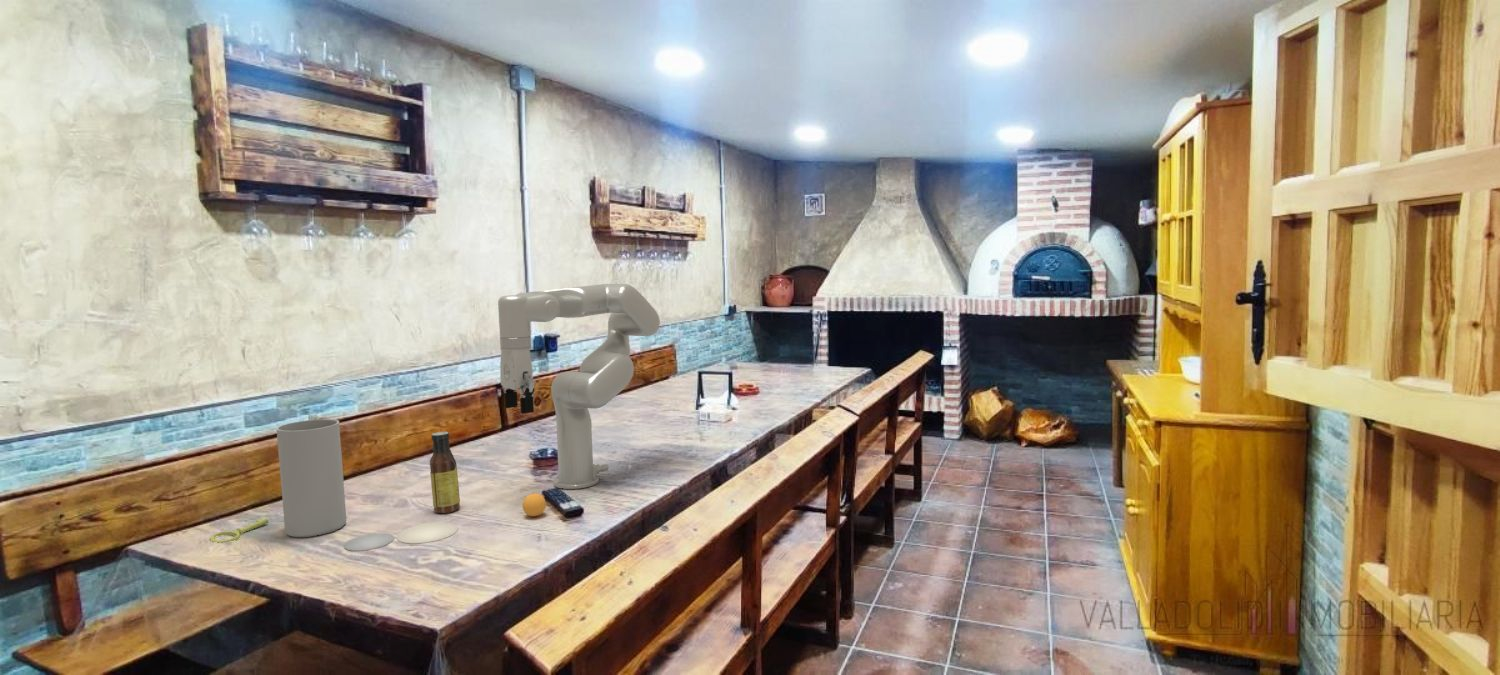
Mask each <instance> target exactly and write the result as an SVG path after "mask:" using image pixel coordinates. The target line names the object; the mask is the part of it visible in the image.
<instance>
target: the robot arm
mask: <svg viewBox="0 0 1500 675" xmlns="http://www.w3.org/2000/svg"><path fill="white" fill-rule="evenodd" d="M497 305H498V306H497V308H498V324H499V342H500V343H499V344H500V370H499V373H500V385H501V386H502V387H503V392H504V393H503V394H504V408H505V409H511V408H517V407H518V406H519V405H518V392H519V394H520V396H521V397H519V399H520V400H519V401H520V403H519V404H520V413H521V414H530V413H533V412H534V411H535V409H534V407H535V406H534V392H535V380H534V376H533V375H534V374H533V373H534V372H533V365H532V364H533V363H532V356H531V350H532V336H531V335H532V333H531V322H533V323H535V322H536V323H537V322H538V323H547V322H548V323H549V322H551V321H553V320H555V319H556V318H564V319H565V318H566V319H569V318H571V319H574V318H584V317H588V316H589V317H590V316H594V315H595V316H597V315H598V316H599V315H602V314H610V315H609V316H608V321H607V337H606V340H605V341H603V343H602V344H601V345H600V346H598V347H597V348H596V349H595V350H593V351H592V352H591V353H589V355H587V356H586V357H585V358H584V359H583V360H582V362H581V364H580V366H579V371H571V370H570V371H564V372H560V373H558V375H556V376H555V377H554V379H553V380H552V382H551V387H550V392H551V398H552V402H553V407H554V410H555V417H556V418H555V419H556V444H557V464H558V465H557V466H558V468H557V469H558V476H557V477H556V478H553V481H552V482H553V486H554V487H555V488H558V489H562V488H563V490H564V489H565V490H579V489H583V488H589V487H592V486H595V485H597V484H598V483H599V482H600V476H599V475H598V474H600V473H601V472H608V471H609V468H610V467H609V465H608V463H605V464H599V463H597V464H594V455H593V453H594V452H593V433H592V432H593V430H592V428H593V426H592V424H593V422H592V416H591V413H590V411H589V409H600V408H603V407H605V406H607V404H609V402H611V401H612V400H613V399H614V398H615V397H617V395H619V394H620V393H621V392H622V391H623V390H624V389H625V388H626V387H627V386H628V385H629V384H630V383H631V380H632V379H633V377H634V371H635V367H634V366H635V365H634V362H633V361H632V360H633V359H631V357H630V356H631V346H630V337H631V336H632V337H650V336H653V335H655V334H656V333H657V332H658V331H659V328H660V325H661V321H660V317H659V313H658V312H657V311H656V308H654V307H653V306H652V305H651V303H650V302H649V301H648V300H647V299H646V298H645V297H644V296H643V295H642V293H641V292H640V291H639V290H637V289H636V288H635V287H634V286H632V285H630V284H628V283H606V284H605V283H604V284H603V283H602V284H592V285H584V286H583V285H582V286H574V287H565V288H558V289H548V290H547V289H546V290H539V291H538V290H537V291H528V292H527V291H526V292H519V293H517V294H514V295H512V294H511V295H502V296H500V297H499V298H498V301H497ZM517 390H519V391H517Z"/></svg>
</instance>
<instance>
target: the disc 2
mask: <svg viewBox="0 0 1500 675" xmlns="http://www.w3.org/2000/svg"><path fill="white" fill-rule="evenodd" d="M458 530H459V527H458V525H457V524H456V523H452V522H446V521H445V522H444V521H443V522H442V521H437V522H434V521H433V522H425V523H421V524H417V525H413V526H411V527H407V528H405V529H403V530H401V531H400V532H398V534H397V535H396V540H397V541H399V542H401V543H403V544H412V545H414V544H415V545H417V544H426V543H427V544H428V543H433V542H434V543H435V542H437V541H441V540H443V539H444V540H445V539H447V538H450V537H451V536H453V535H455V534H456V533H457V532H458Z"/></svg>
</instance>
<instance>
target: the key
mask: <svg viewBox="0 0 1500 675" xmlns="http://www.w3.org/2000/svg"><path fill="white" fill-rule="evenodd" d="M268 523H269V519H268V518H267V517H266V518H260V519H257V520H256V521H255V522H254V523H252V524H251V523H250V524H249V525H247V526H244V527H242V528H241V527H238V528H237V529H236V530H225V531H219V532H216V533H214V534H212V535H211V536H210V537H209V541H210V542H211V541H212V542H211V543H214V542H217V543H216V544H224V543H223V542H229V541H234V540H236V541H238V540H237V539H239V538H240V537H241V535H244V534H245V533H247V532H246V531H248V532H250V531H252V530H255V529H257V528H259V527H262V526H264V525H265V524H268ZM254 528H255V529H254ZM249 530H250V531H249ZM244 532H245V533H244ZM240 534H241V535H240ZM220 535H233V536H232V537H231V538H227V539H224V540H218V539H216V538H217V537H216V536H219V537H221V536H220ZM215 537H216V538H215ZM240 539H241V538H240ZM240 539H239V540H240ZM220 542H221V543H220ZM234 542H235V541H234ZM229 543H230V542H229Z"/></svg>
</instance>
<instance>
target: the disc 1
mask: <svg viewBox="0 0 1500 675" xmlns="http://www.w3.org/2000/svg"><path fill="white" fill-rule="evenodd" d="M394 540H395V536H394V535H393V534H391V533H386V532H384V533H383V532H382V533H381V532H378V533H370V534H363V535H358V536H357V537H353V538H351V539H350V540H348V541H346V542H345V543H344V544H343V548H344V550H346V551H351V552H364V551H369V550H375V549H379V548H382V547H385V546H387V545H389V544H390V543H391V544H392V542H393V541H394Z"/></svg>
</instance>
